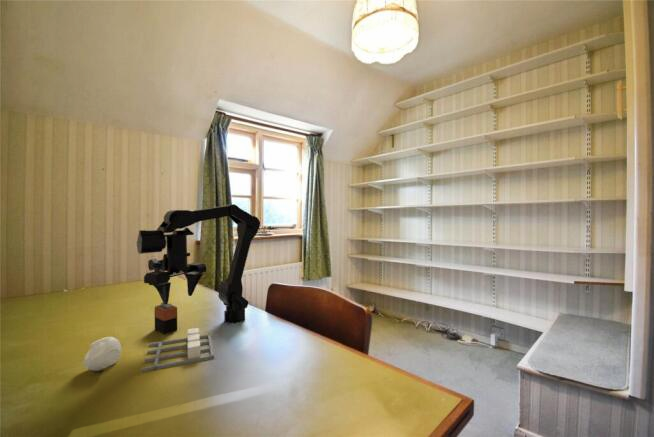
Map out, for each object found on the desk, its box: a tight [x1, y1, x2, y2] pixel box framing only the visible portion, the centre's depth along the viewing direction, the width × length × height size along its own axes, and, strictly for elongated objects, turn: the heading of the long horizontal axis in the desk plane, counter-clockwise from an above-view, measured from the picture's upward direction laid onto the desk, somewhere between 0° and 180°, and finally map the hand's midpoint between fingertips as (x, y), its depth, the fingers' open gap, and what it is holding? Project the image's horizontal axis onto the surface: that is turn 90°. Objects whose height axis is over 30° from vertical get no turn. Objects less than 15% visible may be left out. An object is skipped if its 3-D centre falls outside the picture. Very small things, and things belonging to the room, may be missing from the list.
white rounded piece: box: [83, 336, 122, 372], centre depth 76 cm, size 8×8×8 cm
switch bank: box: [141, 333, 215, 373], centre depth 82 cm, size 18×16×2 cm
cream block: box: [187, 340, 201, 359], centre depth 79 cm, size 3×4×4 cm
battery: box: [154, 302, 178, 335], centre depth 97 cm, size 4×7×10 cm, turn 55°
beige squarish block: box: [187, 333, 201, 343], centre depth 84 cm, size 3×4×4 cm
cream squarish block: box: [187, 327, 200, 336], centre depth 88 cm, size 3×4×4 cm
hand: (178, 299), depth 93 cm, fingers open, 9 cm apart
